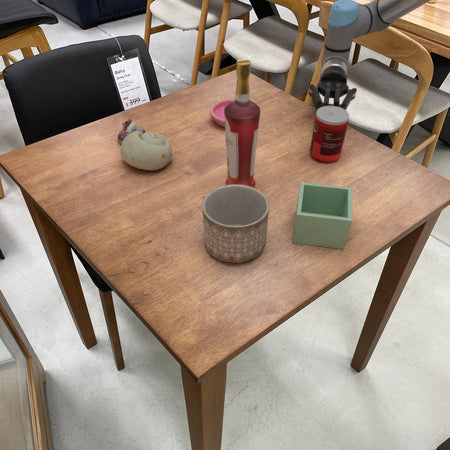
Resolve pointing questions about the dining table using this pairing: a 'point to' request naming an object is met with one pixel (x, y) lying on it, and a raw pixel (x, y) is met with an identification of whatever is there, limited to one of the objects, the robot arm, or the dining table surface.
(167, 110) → the dining table surface
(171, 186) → the dining table surface
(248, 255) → the planter
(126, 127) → the pinkish grey lump
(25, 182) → the dining table surface
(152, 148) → the seashell
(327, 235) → the box
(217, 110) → the saucer
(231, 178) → the liquor
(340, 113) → the canned food
